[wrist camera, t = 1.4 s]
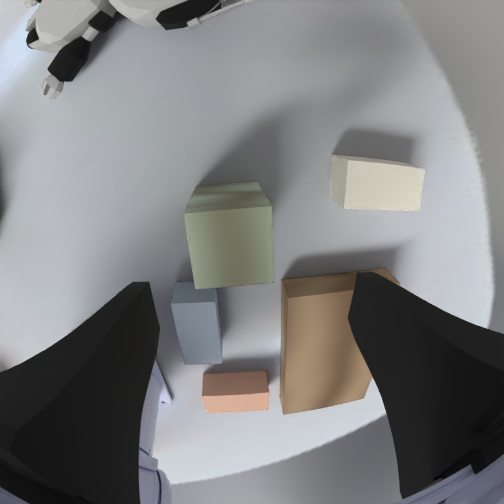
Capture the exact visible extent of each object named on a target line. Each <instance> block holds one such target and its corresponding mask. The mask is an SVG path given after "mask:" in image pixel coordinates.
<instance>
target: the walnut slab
mask: <svg viewBox="0 0 504 504" xmlns="http://www.w3.org/2000/svg"><path fill="white" fill-rule="evenodd" d="M371 271H372V272H375V273H377V274H379V275H381V276H383V277H385V278H387V279H388V280H390V281H392V282H394V283H395V284H397V285H399V284H400V282H399V281H398V280H397V279H396V278H395V277H394V276H393V275H392V274H391V273H390V272H389V271H388V270H387V269H386V268H380V269H372V270H364V271H356V272H347V273H339V274H330V275H321V276H312V277H303V278H293V279H283V280H282V292H281V366H280V401H281V406H282V411H283V415H285V414H291V413H298V412H303V411H309V410H315V409H320V408H325V407H329V406H334V405H339V404H343V403H347V402H351V401H355V400H359V399H363V398H364V397H365V394H366V391H367V389H368V386H369V384H370V381H371V378H372V375H371V372H370V370H369V368H368V366H367V364H366V362H365V360H364V358H363V356H362V354H361V352H360V350H359V348H358V346H357V344H356V342H355V339H354V336H353V333H352V331H351V327H350V324H349V321H348V313H349V309H350V305H351V300H352V296H353V291H354V286H355V281H356V276H357V272H371Z"/></svg>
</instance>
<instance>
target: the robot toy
mask: <svg viewBox="0 0 504 504" xmlns="http://www.w3.org/2000/svg"><path fill="white" fill-rule="evenodd" d="M225 1H226V0H27V1H25V6H26V7H31V6H35V5H36V4H37V3H38V2H39V3H41V4H40V6H39V8H38V9H37V10H36V11H35V13H34V14H33V15H32V16H31V18H30V19H29V20H28V24H27V27H26V31H29V33H28V36H27V39H26V42H27V45H28V47H29V48H31V49H35V50H41V51H46V52H52V53H53V52H55V51H58V50H60V49H61V50H60V51H59V53H58V54H57V55H56V57H55V58H54V60H53V61H52V63H51V64H50V66H49V67H48V71H49V72H50V73H51V75H50V76H48V77H47V78H46V79H45V80H44V82H43V84H42V86H41V93H42V94H43V95H46V98H47V99H49V100H52V99H55V98H56V97H57V96H58V95H59V94H60V93H61V91H62V89H63V84H64V81H66V82H69V81H72V80H73V79H74V78H75V76H76V75H77V73H78V72H79V71H80V69H81V68H82V67H83V65H84V64H85V63H86V61H87V59H88V55H89V51H90V46H91V41H92V40H93V39H94V38H95V37H96V35H97V34H98V33H99V32H101V33H103V32H107V31H108V30H109V28H110V27H111V26H112V25H113V24H114V23H115V22H116V21H117V20H116V19H114V18H113V17H114V14H115V12H116V10H117V11H118V12H120V13H121V14H123V15H124V16H125V17H127V18H128V19H129V20H131V21H132V22H133V23H135V24H138V25H140V26H142V27H145V28H152V27H160V26H163V27H164V28H165V29H166V30H170V29H177V28H184V27H187V26H188V27H189V28H192V29H194V28H196V27H198V26H200V25H202V22H204V21H206V20H208V19H210V18H212V17H215V16H217V15H219V14H222V13H224V12H227V11H229V10H232V9H234V8H237V7H239V6H242V5H245V4H250V3H253V2H256V1H257V0H242V1H240V2H237V3H234V4H232V5H229V6H227V7H224V8H222V9H221V4H222V3H223V2H225Z"/></svg>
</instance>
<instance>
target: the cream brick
mask: <svg viewBox="0 0 504 504" xmlns="http://www.w3.org/2000/svg"><path fill="white" fill-rule="evenodd" d="M424 173H425V169H423V168H420V167H417V166H414V165H410V164H407V163H404V162H398V161H390V160H382V159H374V158H364V157H354V156H342V155H331V171H330V185H329V198H330V199H332V200H333V201H334V202H336V203H337V204H338V205H339V206H341V207H342V208H343V209H373V210H401V211H419V208H420V202H421V195H422V188H423V181H424Z"/></svg>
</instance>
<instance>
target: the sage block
mask: <svg viewBox="0 0 504 504" xmlns="http://www.w3.org/2000/svg"><path fill="white" fill-rule="evenodd" d="M184 220H185V227H186V234H187V241H188V248H189V254H190V260H191V267H192V273H193V278H194V284H195V289H205V288H218V287H230V286H241V285H252V284H263V283H273V282H274V269H273V224H272V205H271V204H270V202H269V200H268V199H267V197H266V195H265V193H264V192H263V190H262V188H261V187H260V185H259V183H258V182H257V181H256V182H242V183H229V184H217V185H206V186H196V188H195V190H194V192H193V194H192V196H191V198H190V201H189V203H188V205H187V207H186V210H185V212H184Z"/></svg>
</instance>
